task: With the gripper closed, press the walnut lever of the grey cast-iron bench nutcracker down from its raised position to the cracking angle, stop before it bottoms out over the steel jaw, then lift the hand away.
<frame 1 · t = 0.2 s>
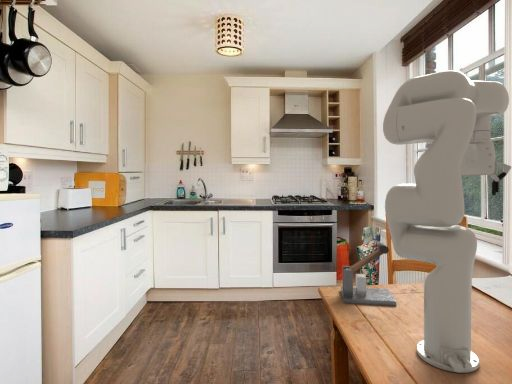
hand: (474, 194, 96), 37 cm above the table, tool pointing down, fingers open, 9 cm apart
lever: (365, 259, 112), point 14 cm above the table, hinge at 35.0°
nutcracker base: (366, 297, 112), on the table
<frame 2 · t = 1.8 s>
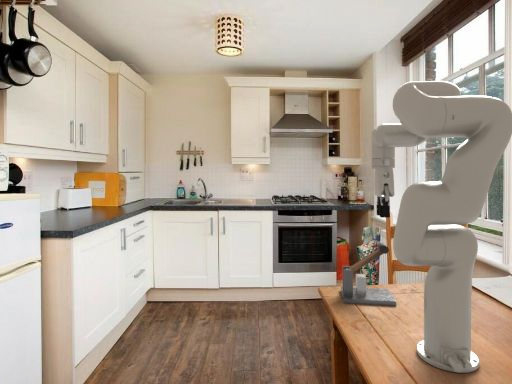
hand: (383, 215, 110), 29 cm above the table, tool pointing down, fingers open, 4 cm apart
nothing on the table moved.
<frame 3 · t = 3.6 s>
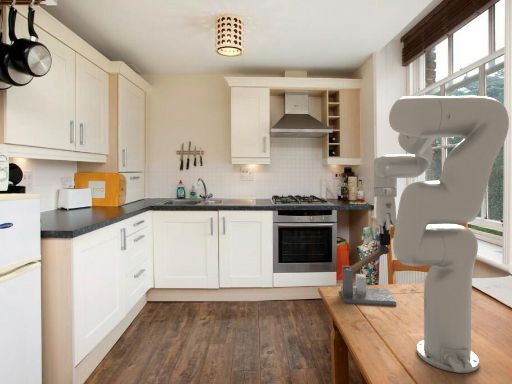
hand: (384, 244, 110), 19 cm above the table, tool pointing down, fingers closed
lever: (365, 259, 112), point 14 cm above the table, hinge at 34.3°, touching gripper
everything else where it was.
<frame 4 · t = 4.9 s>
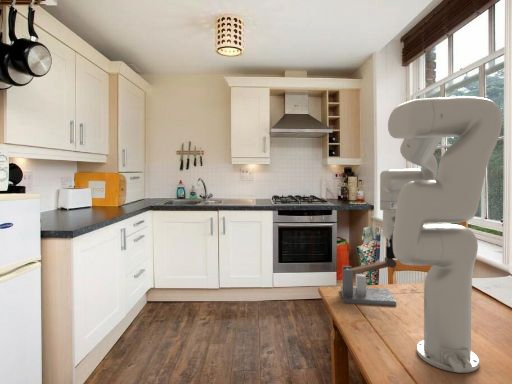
hand: (391, 257, 110), 15 cm above the table, tool pointing down, fingers closed
lever: (369, 266, 111), point 11 cm above the table, hinge at 14.7°, touching gripper
everything else where it was.
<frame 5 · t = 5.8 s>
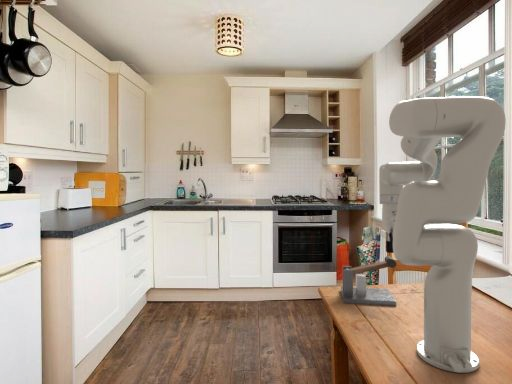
hand: (391, 252, 110), 17 cm above the table, tool pointing down, fingers closed
lever: (369, 266, 111), point 11 cm above the table, hinge at 14.6°
everything else where it was.
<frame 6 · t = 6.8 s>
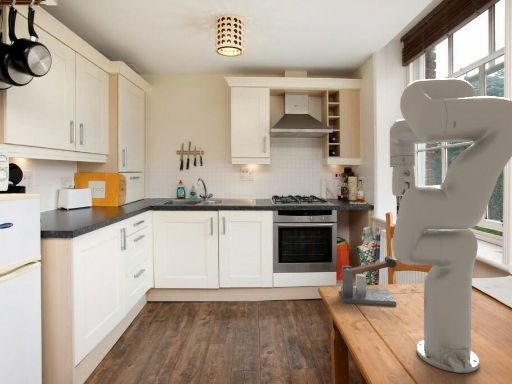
hand: (402, 217, 104), 29 cm above the table, tool pointing down, fingers closed
nothing on the table moved.
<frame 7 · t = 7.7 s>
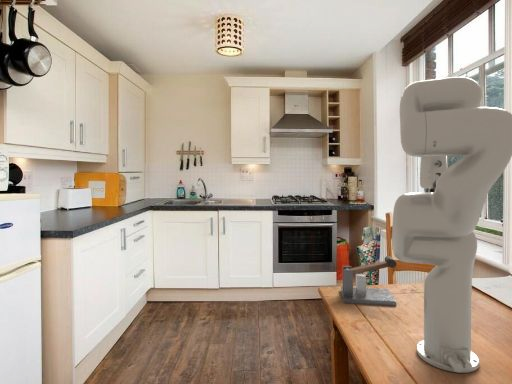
hand: (431, 211, 97), 32 cm above the table, tool pointing down, fingers closed
nothing on the table moved.
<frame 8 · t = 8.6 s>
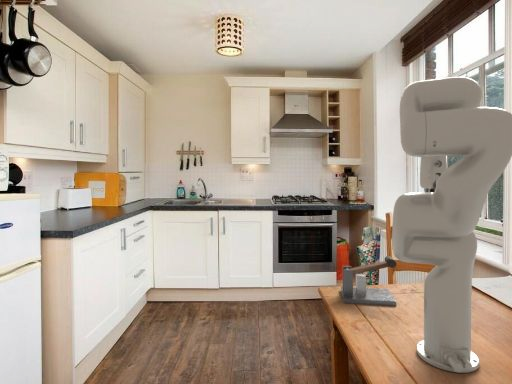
hand: (431, 211, 97), 32 cm above the table, tool pointing down, fingers closed
nothing on the table moved.
at the end: lever at +15° (first picture: +35°); the gripper is holding nothing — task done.
